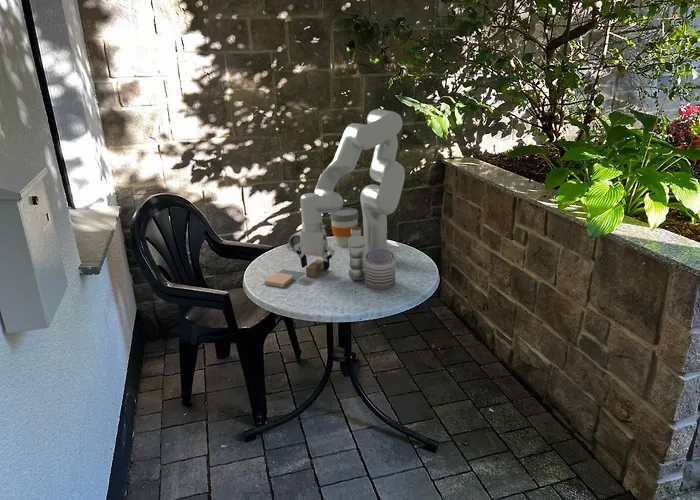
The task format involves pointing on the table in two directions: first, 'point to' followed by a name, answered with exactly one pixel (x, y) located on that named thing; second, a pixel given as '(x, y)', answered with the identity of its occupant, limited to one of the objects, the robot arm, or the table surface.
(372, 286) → the ribbed tin
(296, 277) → the mat
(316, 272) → the tall brown block
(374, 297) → the table surface
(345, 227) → the reusable coffee cup
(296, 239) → the ceramic mug
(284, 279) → the tile
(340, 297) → the table surface
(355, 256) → the silver bottle
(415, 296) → the table surface
